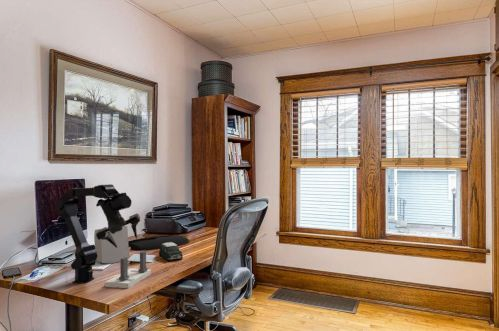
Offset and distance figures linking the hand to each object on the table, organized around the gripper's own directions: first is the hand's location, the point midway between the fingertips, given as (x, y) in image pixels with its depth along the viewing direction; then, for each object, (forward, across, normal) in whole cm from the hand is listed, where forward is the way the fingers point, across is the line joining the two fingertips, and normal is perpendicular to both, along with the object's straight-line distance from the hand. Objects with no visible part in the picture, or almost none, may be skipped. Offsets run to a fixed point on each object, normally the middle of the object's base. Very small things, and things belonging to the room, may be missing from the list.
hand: (126, 242), depth 147 cm
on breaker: (+17, 0, +4) cm, 17 cm away
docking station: (+32, +3, +70) cm, 77 cm away
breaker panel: (+16, -6, 0) cm, 17 cm away
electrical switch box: (+17, -20, +38) cm, 46 cm away
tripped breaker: (+13, -6, -6) cm, 15 cm away
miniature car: (+29, +10, +33) cm, 45 cm away
